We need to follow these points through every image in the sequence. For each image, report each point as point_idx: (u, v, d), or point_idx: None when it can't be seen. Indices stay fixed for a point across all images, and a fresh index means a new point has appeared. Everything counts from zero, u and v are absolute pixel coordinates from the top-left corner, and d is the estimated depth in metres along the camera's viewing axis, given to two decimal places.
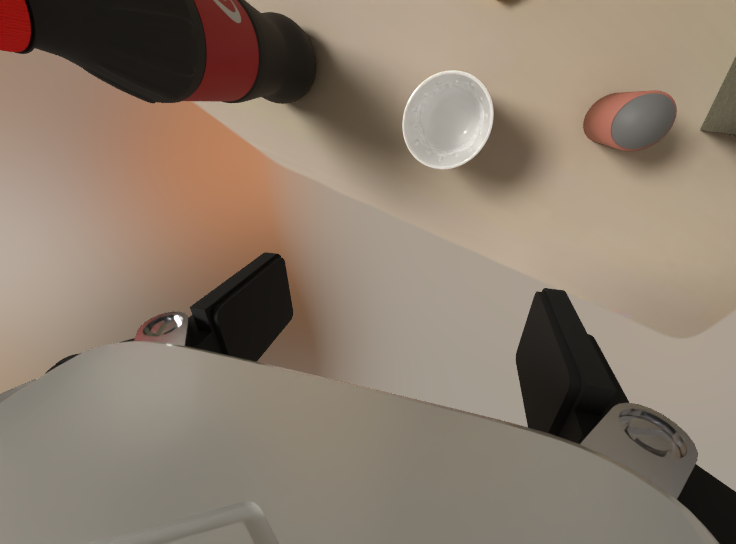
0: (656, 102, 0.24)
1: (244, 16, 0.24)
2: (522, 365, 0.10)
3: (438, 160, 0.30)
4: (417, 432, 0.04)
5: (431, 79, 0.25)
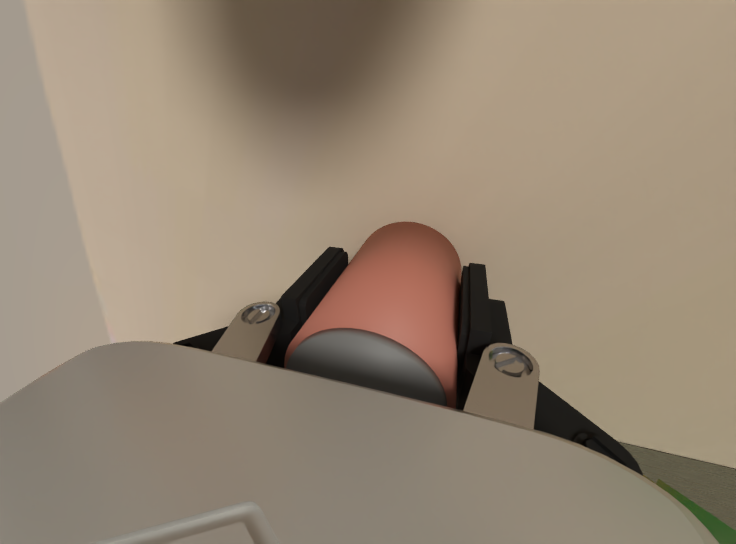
0: None
1: None
2: None
3: None
4: (417, 432, 0.04)
5: None
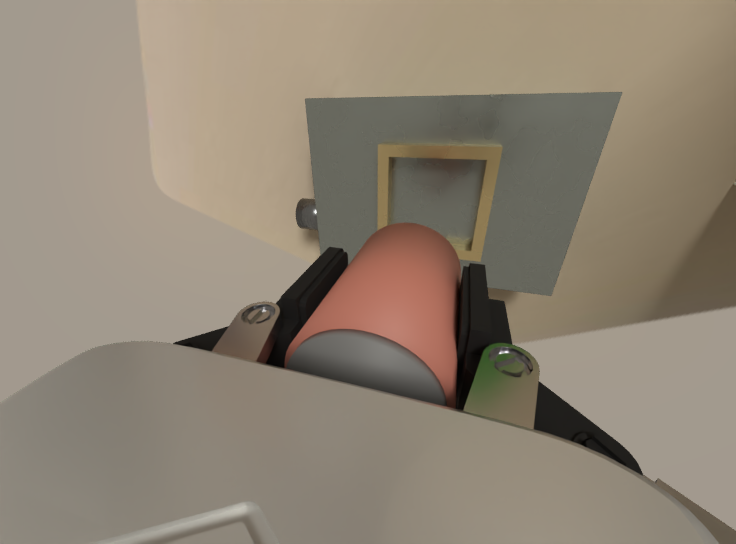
0: None
1: None
2: None
3: None
4: (418, 433, 0.04)
5: None
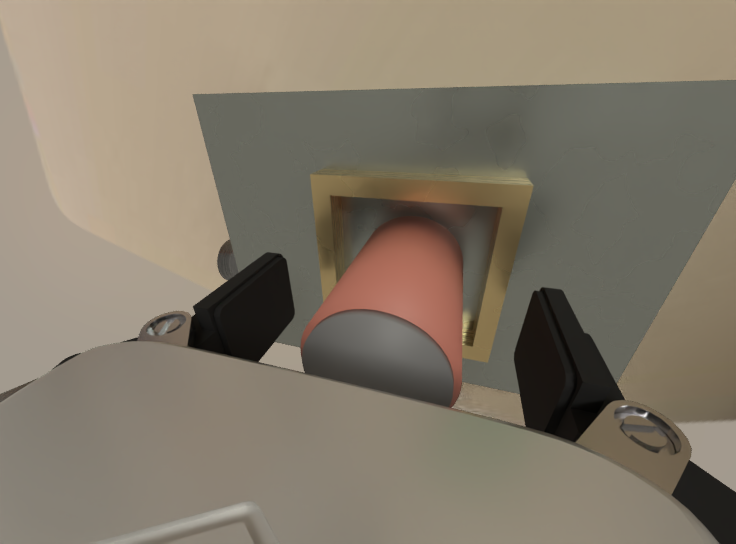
0: (425, 401, 0.08)
1: None
2: (520, 363, 0.10)
3: None
4: (418, 432, 0.04)
5: None
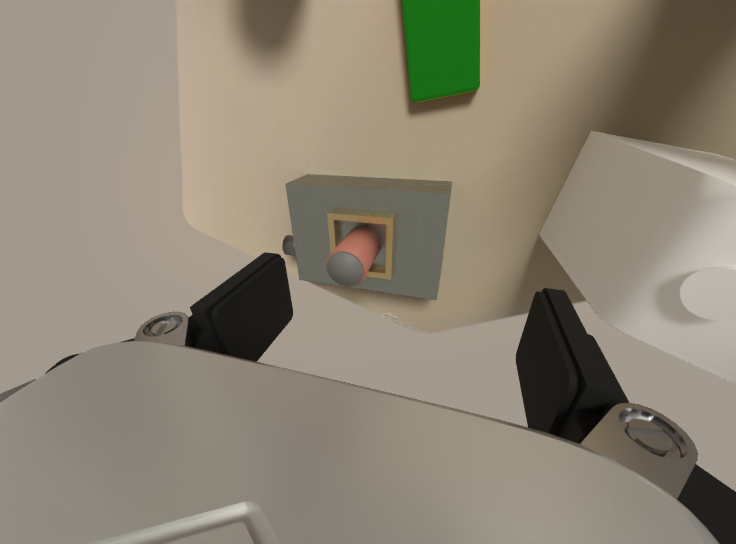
0: (357, 275, 0.32)
1: None
2: (522, 365, 0.10)
3: None
4: (417, 432, 0.04)
5: None
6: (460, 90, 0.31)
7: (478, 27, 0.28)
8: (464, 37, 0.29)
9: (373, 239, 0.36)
